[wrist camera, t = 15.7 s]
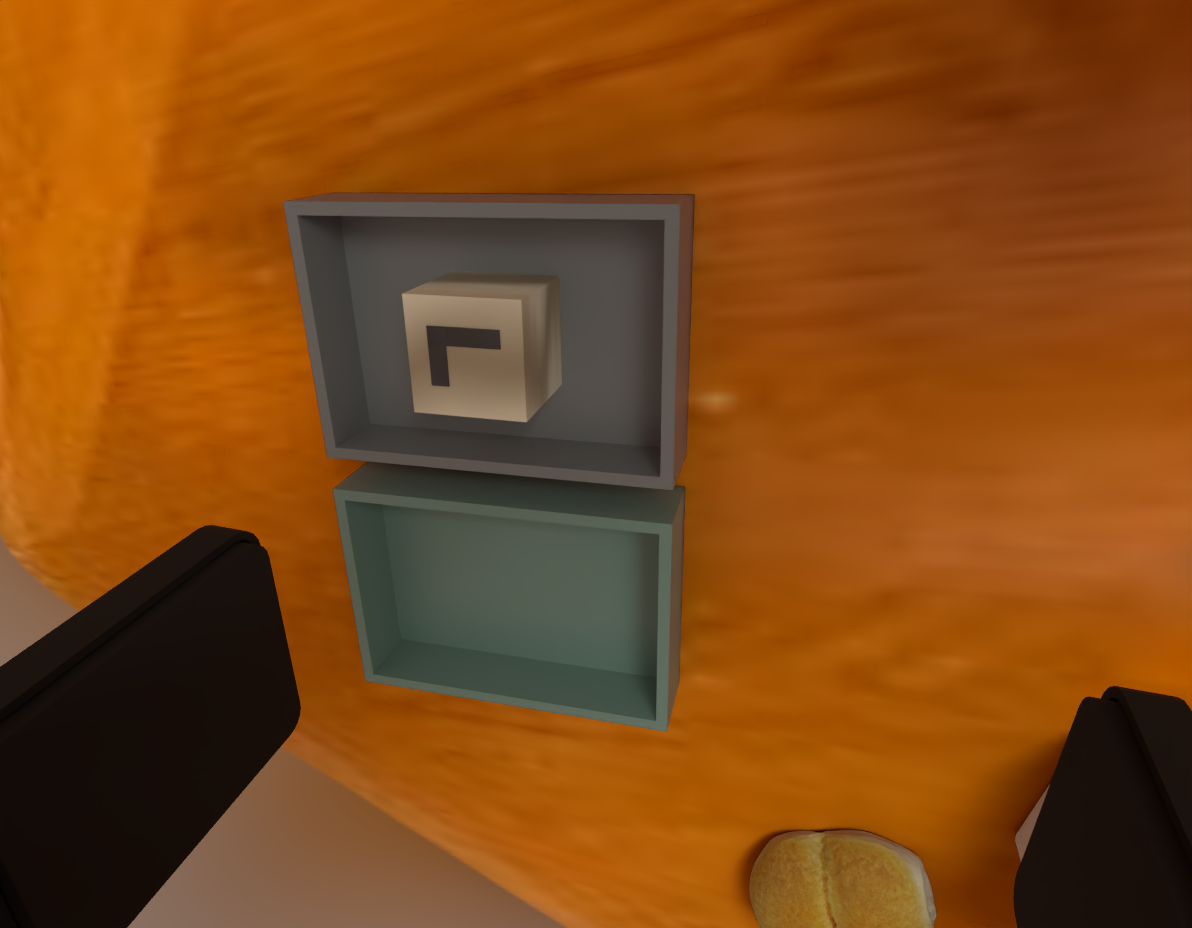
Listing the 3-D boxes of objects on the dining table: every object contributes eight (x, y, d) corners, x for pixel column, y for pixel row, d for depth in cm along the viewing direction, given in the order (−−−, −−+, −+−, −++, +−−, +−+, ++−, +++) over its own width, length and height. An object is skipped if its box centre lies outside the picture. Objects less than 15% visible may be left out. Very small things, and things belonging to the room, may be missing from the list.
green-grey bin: (372, 457, 37) (332, 488, 34) (685, 486, 34) (672, 524, 31) (399, 638, 42) (365, 681, 39) (679, 681, 38) (666, 731, 35)
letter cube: (452, 270, 32) (400, 293, 28) (559, 275, 31) (520, 300, 27) (460, 376, 34) (412, 412, 30) (562, 384, 33) (526, 422, 29)
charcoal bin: (333, 192, 32) (283, 201, 29) (694, 194, 29) (680, 204, 26) (368, 428, 37) (327, 457, 34) (686, 455, 33) (672, 490, 30)
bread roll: (733, 825, 41) (725, 891, 38) (911, 814, 38) (920, 886, 35) (776, 936, 44) (772, 1008, 40) (946, 935, 41) (958, 1013, 37)
